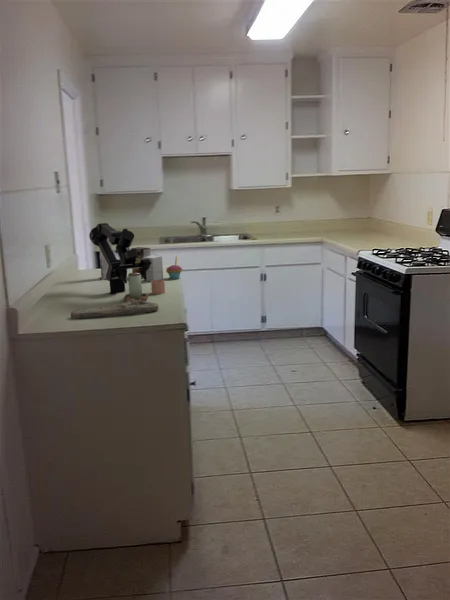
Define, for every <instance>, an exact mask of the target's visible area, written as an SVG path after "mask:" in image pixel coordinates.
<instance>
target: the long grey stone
mask: <svg viewBox="0 0 450 600" xmlns="http://www.w3.org/2000/svg"><path fill="white" fill-rule="evenodd" d="M158 310H159V304H158V303H157V302H150V301H148V300H147V301H141V300H135V299H134V298H133V299H130V300H128V301H126V302H120V303H118V304H114V305H113V306H109V305H107V306H100V307H92V308H81V309H80V308H78V309H74V310H73V311H71V312H70V318H71V319H72V320H80V319H94V318H95V319H99V317H100V318H109V316H112V317H119V316H130V315H131V316H132V314H133V315H140V314H139V313H143V314H146V313H151V312H155V311H158Z"/></svg>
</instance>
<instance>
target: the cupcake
mask: <svg viewBox="0 0 450 600" xmlns="http://www.w3.org/2000/svg"><path fill="white" fill-rule="evenodd" d="M177 258H178V257H177V255H176V256H175V262H174V263H175V264H172V265H170V266H168V267H166V273H167V274H168V276H169V279H171V280H178V279H179V278H180V276H181V273H182V272H183V268H182V267H181V266H180V265H177V263H178V259H177Z"/></svg>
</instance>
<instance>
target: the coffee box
mask: <svg viewBox="0 0 450 600" xmlns="http://www.w3.org/2000/svg"><path fill="white" fill-rule="evenodd" d="M137 248H140V250H141V255H140V256H138V257H137V258H136V259H137V261H135V263H140V261H141V259H143V257H147V256H151V248H150V247H142V246H137V247H133V248H130V250H135V249H137ZM131 270H132V272H131V273H134V272H139V273H140V271H141V270H140V269H139V268H133V269H131ZM140 274H141V273H140ZM141 279H143V277H142V275H141Z"/></svg>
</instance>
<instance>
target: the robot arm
mask: <svg viewBox="0 0 450 600" xmlns="http://www.w3.org/2000/svg"><path fill="white" fill-rule="evenodd" d="M88 237H89V239H90V241H91V242H92V244H93V245H94V246H97V247H98V248H99V251H100V250H101V252H102V254H103V256H104V258H105V260H106V262H107V263H108V265H109V266H108V271H107V274H106V280H105V281H108V282H109V287H110V288H109V291H110V292H109V294H113V295H114V294H120V293H124V292H126V284H127V283H128V280H127V279H128V270H130V269H131V270H132V269H133V268H139V269H140V270H141V271H140V273H141V275H142V277H143V278H142V279H143V280H144V281H145V282H146V271H147V270H148V269H149V267H150V265H151V261H150V260H149V259H141V261H140V263H135V261H137V259H136V258H137V257H138V256H140V255H141V250H140V248H137V247H136V248H137V249H135V250H131V248H130V247H132V243H133V241H134V239H135V234H134V232H132V231H131V230H129V229H128V228H122V230H116V229H115V228H114V227H112V226H111V225H109V223H107V222H104V223H103V222H102V223H101V222H100V223H98V224H96V226H95V227H93V228H92V229H91V230H90V232H89V236H88ZM108 238H109V242H110V243H111V247H112V246H115V245H116V246H115V253H114V251H113V248H112V249H111V247H110V246H109V244H108V242H107V239H108ZM115 254H117V255H118V258H119V259H117V256H116V255H115Z"/></svg>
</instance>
